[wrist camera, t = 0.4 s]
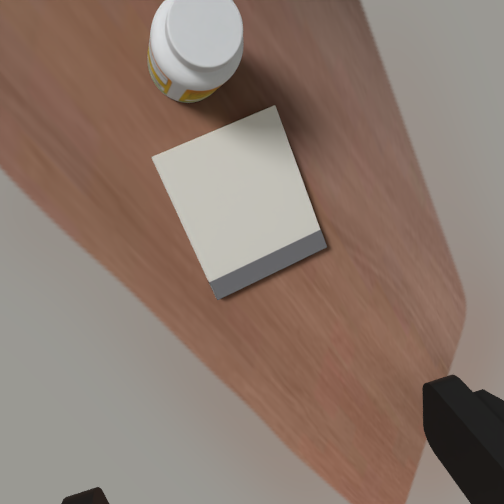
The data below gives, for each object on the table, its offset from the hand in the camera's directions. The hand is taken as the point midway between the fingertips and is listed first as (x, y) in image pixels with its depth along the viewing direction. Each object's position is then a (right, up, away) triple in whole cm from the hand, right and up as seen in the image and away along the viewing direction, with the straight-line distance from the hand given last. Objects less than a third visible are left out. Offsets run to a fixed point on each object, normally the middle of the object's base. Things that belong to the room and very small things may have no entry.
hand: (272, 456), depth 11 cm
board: (-1, +9, +24) cm, 26 cm away
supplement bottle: (-5, +18, +21) cm, 29 cm away
